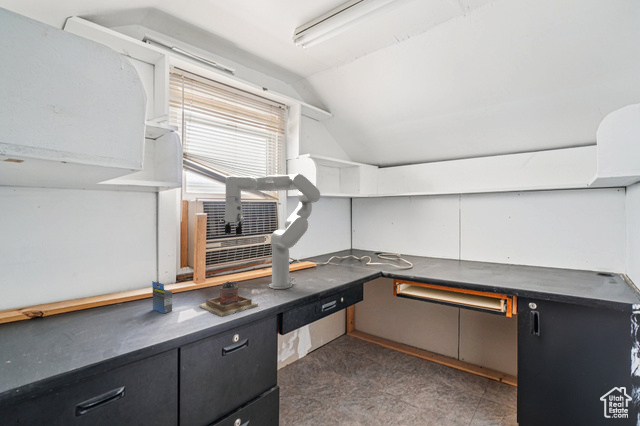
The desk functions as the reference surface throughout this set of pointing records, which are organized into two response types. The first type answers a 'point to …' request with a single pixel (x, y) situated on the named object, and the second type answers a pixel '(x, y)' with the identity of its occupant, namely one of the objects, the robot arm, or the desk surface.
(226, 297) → the reddish brown box
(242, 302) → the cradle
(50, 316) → the desk surface
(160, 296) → the label tape cartridge
